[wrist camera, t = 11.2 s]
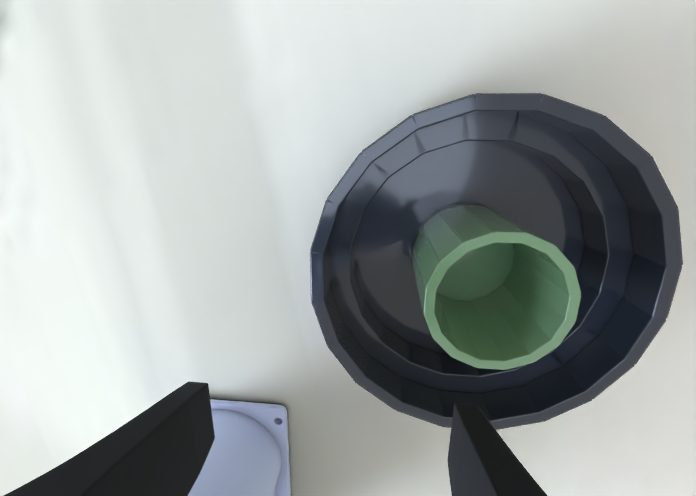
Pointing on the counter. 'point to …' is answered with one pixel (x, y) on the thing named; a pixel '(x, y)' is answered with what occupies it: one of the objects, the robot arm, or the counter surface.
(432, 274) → the green cup
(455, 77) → the counter surface
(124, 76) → the counter surface
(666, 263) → the dark bowl
